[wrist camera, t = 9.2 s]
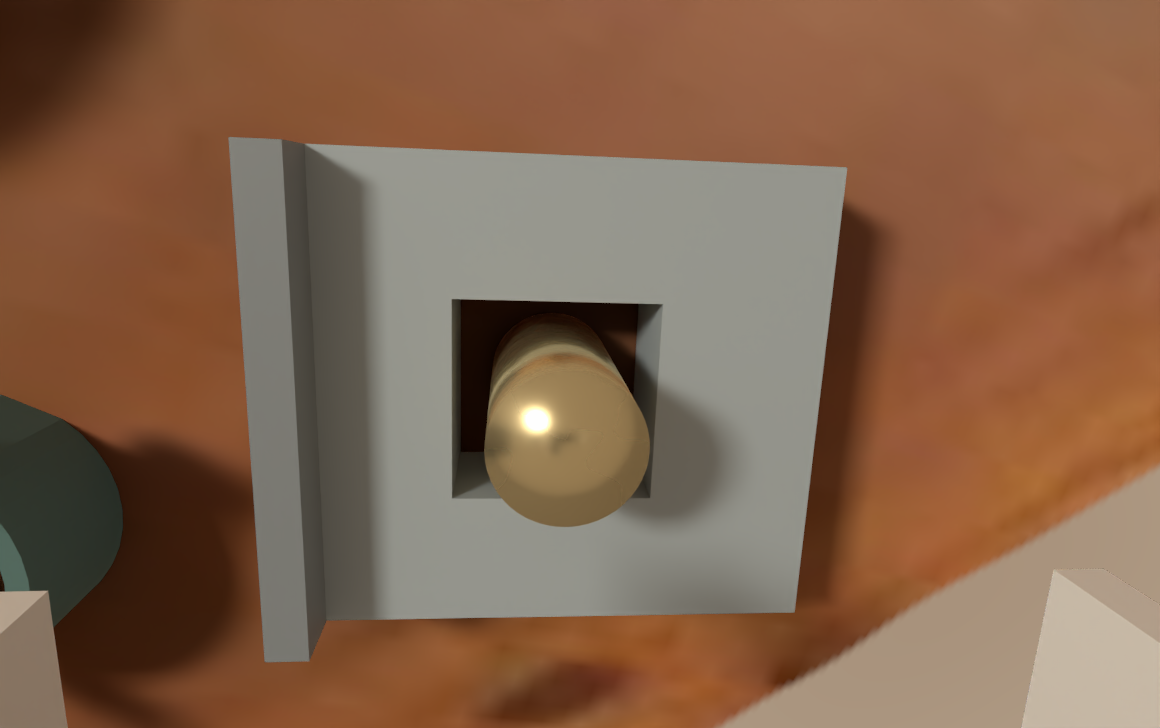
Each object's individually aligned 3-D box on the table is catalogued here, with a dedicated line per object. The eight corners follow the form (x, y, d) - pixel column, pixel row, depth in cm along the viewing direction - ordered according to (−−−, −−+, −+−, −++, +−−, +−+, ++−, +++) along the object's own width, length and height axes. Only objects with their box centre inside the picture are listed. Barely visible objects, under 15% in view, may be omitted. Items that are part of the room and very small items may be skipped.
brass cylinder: (492, 425, 26) (485, 529, 18) (492, 312, 25) (483, 370, 17) (606, 424, 26) (646, 525, 19) (609, 312, 25) (653, 370, 18)
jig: (318, 556, 26) (264, 662, 21) (299, 148, 23) (228, 137, 17) (755, 553, 28) (819, 649, 22) (794, 169, 25) (882, 165, 19)
